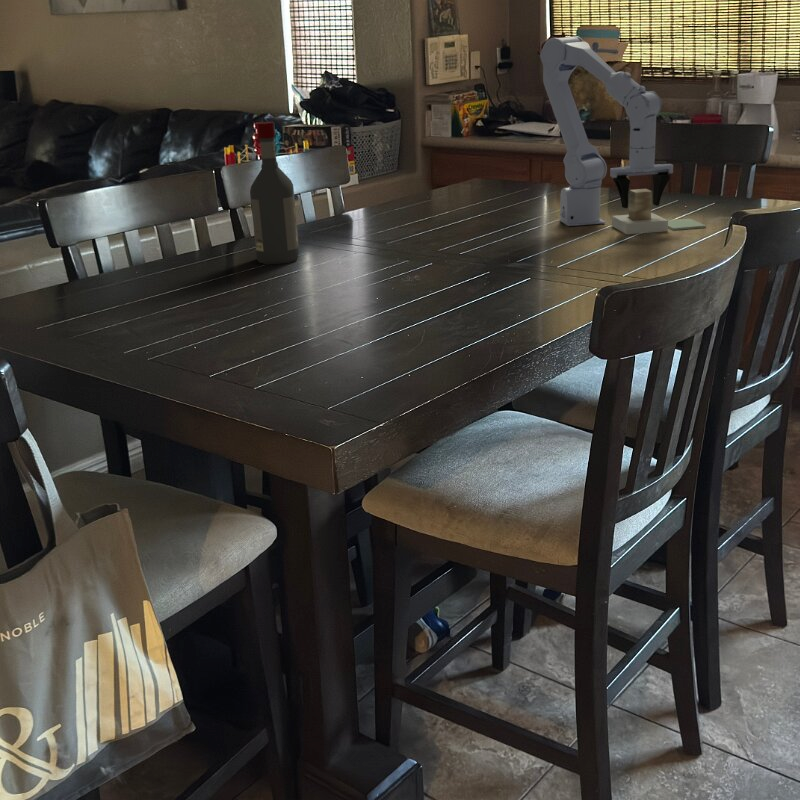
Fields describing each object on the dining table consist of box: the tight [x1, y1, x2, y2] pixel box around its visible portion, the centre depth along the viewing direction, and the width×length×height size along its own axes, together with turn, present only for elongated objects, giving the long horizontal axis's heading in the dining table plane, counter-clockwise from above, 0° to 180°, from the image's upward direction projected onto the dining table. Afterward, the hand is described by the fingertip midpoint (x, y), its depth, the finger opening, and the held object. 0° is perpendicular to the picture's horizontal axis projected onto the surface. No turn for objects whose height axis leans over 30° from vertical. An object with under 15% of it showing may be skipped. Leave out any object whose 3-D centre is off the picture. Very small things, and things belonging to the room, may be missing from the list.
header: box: [611, 212, 669, 235], centre depth 235 cm, size 10×10×2 cm
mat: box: [667, 218, 707, 231], centre depth 236 cm, size 8×9×1 cm
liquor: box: [249, 121, 300, 265], centre depth 219 cm, size 9×9×30 cm
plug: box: [628, 188, 653, 221], centre depth 233 cm, size 4×4×9 cm
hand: (640, 206), depth 233 cm, fingers open, 7 cm apart
